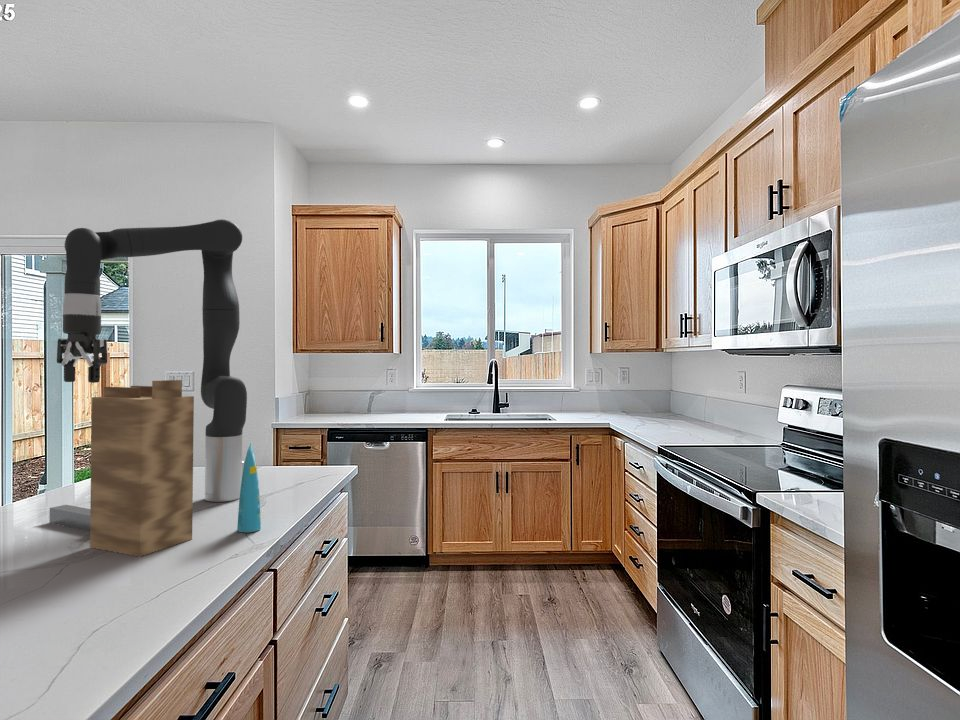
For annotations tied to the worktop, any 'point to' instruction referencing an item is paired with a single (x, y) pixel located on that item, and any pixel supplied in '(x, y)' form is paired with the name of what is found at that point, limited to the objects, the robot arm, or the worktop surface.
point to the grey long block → (71, 516)
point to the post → (141, 468)
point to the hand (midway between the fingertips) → (81, 382)
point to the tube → (249, 496)
